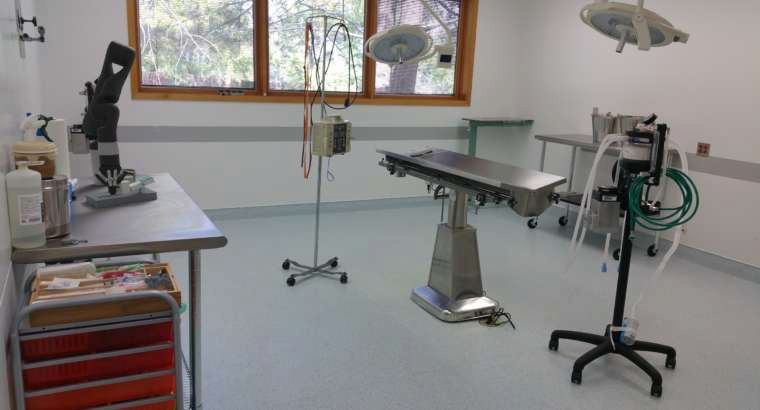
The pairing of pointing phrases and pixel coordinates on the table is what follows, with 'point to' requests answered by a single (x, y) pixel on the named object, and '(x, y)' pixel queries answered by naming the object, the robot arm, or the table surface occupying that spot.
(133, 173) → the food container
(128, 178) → the grey slider
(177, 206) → the table surface
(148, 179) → the rocker
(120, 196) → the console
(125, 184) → the white slider
